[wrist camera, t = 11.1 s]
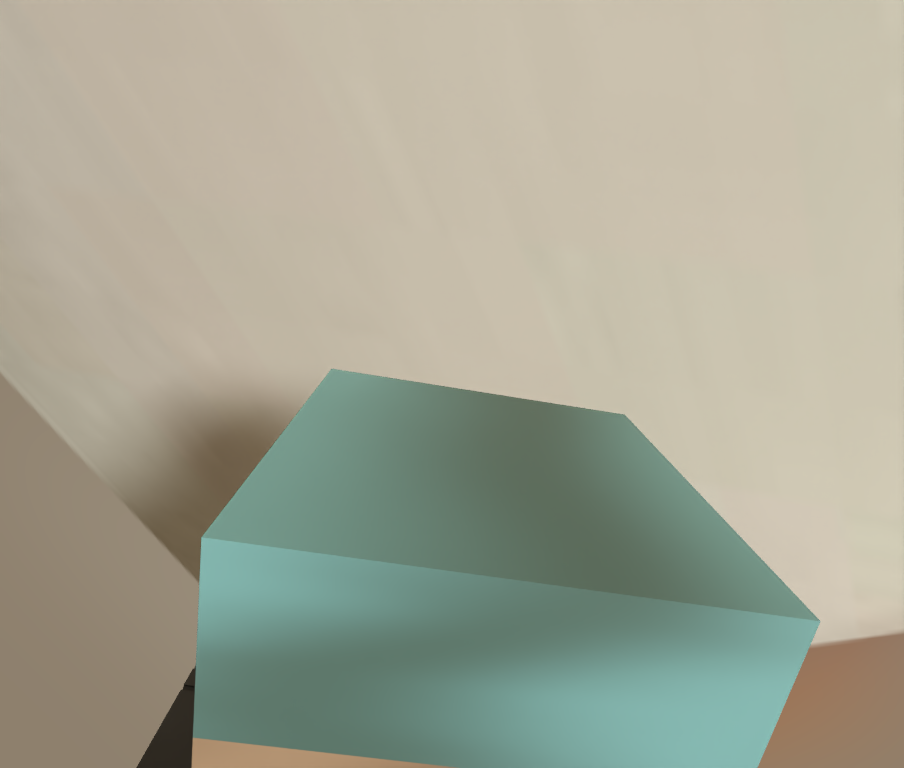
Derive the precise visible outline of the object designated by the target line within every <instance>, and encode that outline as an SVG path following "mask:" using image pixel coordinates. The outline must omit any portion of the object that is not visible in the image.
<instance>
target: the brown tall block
mask: <svg viewBox="0 0 904 768" xmlns="http://www.w3.org/2000/svg"><path fill="white" fill-rule="evenodd" d="M198 607H199V608H198V629H197V653H196V676H195V699H194V723H193V746H192V768H757V767H758V765H759V762H760V760H761V758H762V756H763V753H764V751H765V749H766V746H767V744H768V742H769V739H770V737H771V734H772V732H773V730H774V728H775V725H776V723H777V721H778V718H779V716H780V714H781V711H782V709H783V707H784V704H785V702H786V700H787V697H788V695H789V693H790V691H791V688H792V686H793V683H794V681H795V679H796V677H797V674H798V672H799V670H800V667H801V665H802V663H803V660H804V658H805V656H806V654H807V651H808V649H809V647H810V644H811V642H812V640H813V637H814V635H815V633H816V630H817V628H818V626H819V623H820V620H819V619H818V618H817V617H816V616H815V615H814V614H813V613H812V612H811V611H810V610H809V609H808V608H807V607H806V606H805V605H804V604H803V602H802V601H801V600H800V599H799V598H798V597H797V596H796V595H795V594H794V593H793V592H792V591H791V590H790V589H789V588H788V587H787V586H786V585H785V583H784V582H783V581H782V580H781V579H780V578H779V577H778V576H777V575H776V574H775V573H774V572H773V571H772V570H771V569H770V568H769V567H768V566H767V564H766V563H765V562H764V561H763V560H762V559H761V558H760V557H759V556H758V555H757V554H756V553H755V552H754V551H753V550H752V549H751V548H750V547H749V545H748V544H747V543H746V542H745V541H744V540H743V539H742V538H741V537H740V536H739V535H738V534H737V533H736V532H735V531H734V530H733V529H732V528H731V527H730V525H729V524H728V523H727V522H726V521H725V520H724V519H723V518H722V517H721V516H720V515H719V514H718V513H717V512H716V511H715V510H714V509H713V508H712V506H711V505H710V504H709V503H708V502H707V501H706V500H705V499H704V498H703V497H702V496H701V495H700V494H699V493H698V492H697V491H696V490H695V489H694V487H693V486H692V485H691V484H690V483H689V482H688V481H687V480H686V479H685V478H684V477H683V476H682V475H681V474H680V473H679V472H678V471H677V470H676V468H675V467H674V466H673V465H672V464H671V463H670V462H669V461H668V460H667V459H666V458H665V457H664V456H663V455H662V454H661V453H660V452H659V451H658V449H657V448H656V447H655V446H654V445H653V444H652V443H651V442H650V441H649V440H648V439H647V438H646V437H645V436H644V435H643V434H642V433H641V432H640V431H639V429H638V428H637V427H636V426H635V425H634V424H633V423H632V422H631V421H630V420H629V419H628V418H627V417H626V416H625V415H623V414H617V413H610V412H604V411H598V410H591V409H585V408H578V407H572V406H566V405H559V404H553V403H547V402H540V401H534V400H527V399H521V398H515V397H508V396H502V395H496V394H489V393H483V392H476V391H470V390H464V389H457V388H451V387H444V386H438V385H432V384H425V383H419V382H413V381H406V380H400V379H393V378H387V377H381V376H374V375H368V374H362V373H355V372H349V371H342V370H336V369H331V370H330V372H329V373H328V374H327V376H326V377H325V378H324V379H323V381H322V382H321V383H320V385H319V386H318V387H317V388H316V390H315V391H314V392H313V394H312V395H311V396H310V398H309V399H308V400H307V401H306V403H305V404H304V405H303V407H302V408H301V409H300V410H299V412H298V413H297V414H296V416H295V417H294V418H293V420H292V421H291V422H290V423H289V425H288V426H287V427H286V429H285V430H284V431H283V432H282V434H281V435H280V436H279V438H278V439H277V440H276V442H275V443H274V444H273V445H272V447H271V448H270V449H269V451H268V452H267V453H266V454H265V456H264V457H263V458H262V460H261V461H260V462H259V464H258V465H257V466H256V467H255V469H254V470H253V471H252V473H251V474H250V475H249V476H248V478H247V479H246V480H245V482H244V483H243V484H242V485H241V487H240V488H239V489H238V491H237V492H236V493H235V495H234V496H233V497H232V498H231V500H230V501H229V502H228V504H227V505H226V506H225V507H224V509H223V510H222V511H221V513H220V514H219V515H218V517H217V518H216V519H215V520H214V522H213V523H212V524H211V526H210V527H209V528H208V529H207V531H206V532H205V533H204V535H203V536H202V537H201V559H200V582H199V606H198Z"/></svg>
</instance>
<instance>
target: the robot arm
mask: <svg viewBox="0 0 904 768" xmlns="http://www.w3.org/2000/svg"><path fill="white" fill-rule="evenodd" d="M195 676H196V666H195V668H194V669H193V670H192V672H191V673H190V675H189V677H188V679H187V680H186V682H185V684H184V687H183V690H181V691H180V692H179V694H178V696H177V698H176V700H175V701H174V703H173V705H172V706H171V708H170V710H169V712H168V714H167V715H166V717H165V719H164V720H163V722H162V724H161V726H160V727H159V729H158V731H157V733H156V734H155V736H154V738H153V740H152V741H151V743H150V745H149V747H148V748H147V750H146V752H145V754H144V755H143V757H142V759H141V761H140V762H139V764H138V766H137V768H192V746H193V723H194V699H195Z"/></svg>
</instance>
